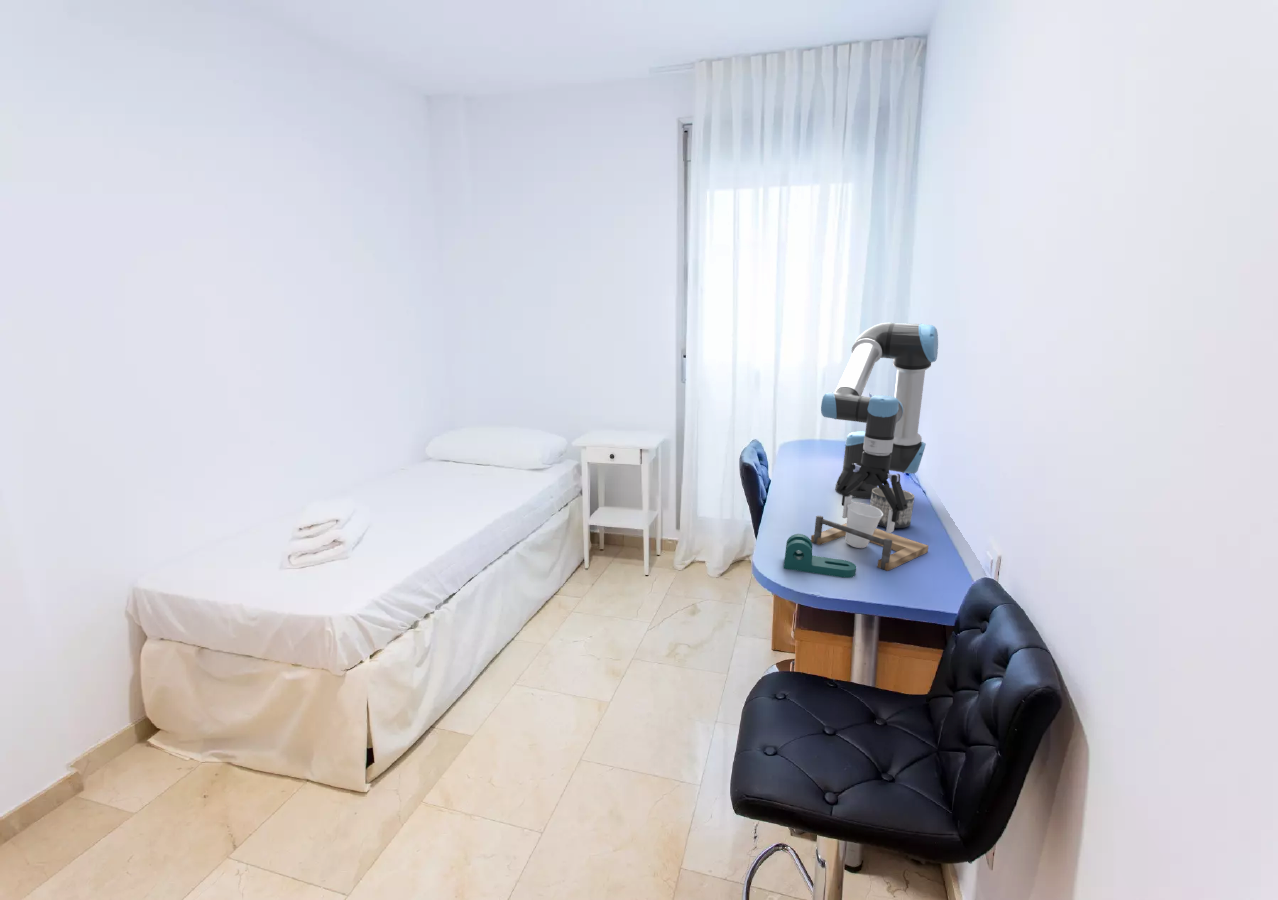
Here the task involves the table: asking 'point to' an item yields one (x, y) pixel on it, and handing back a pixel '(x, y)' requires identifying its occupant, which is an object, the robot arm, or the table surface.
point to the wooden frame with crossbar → (888, 540)
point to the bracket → (814, 559)
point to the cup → (861, 522)
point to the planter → (882, 504)
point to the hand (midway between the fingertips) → (867, 524)
